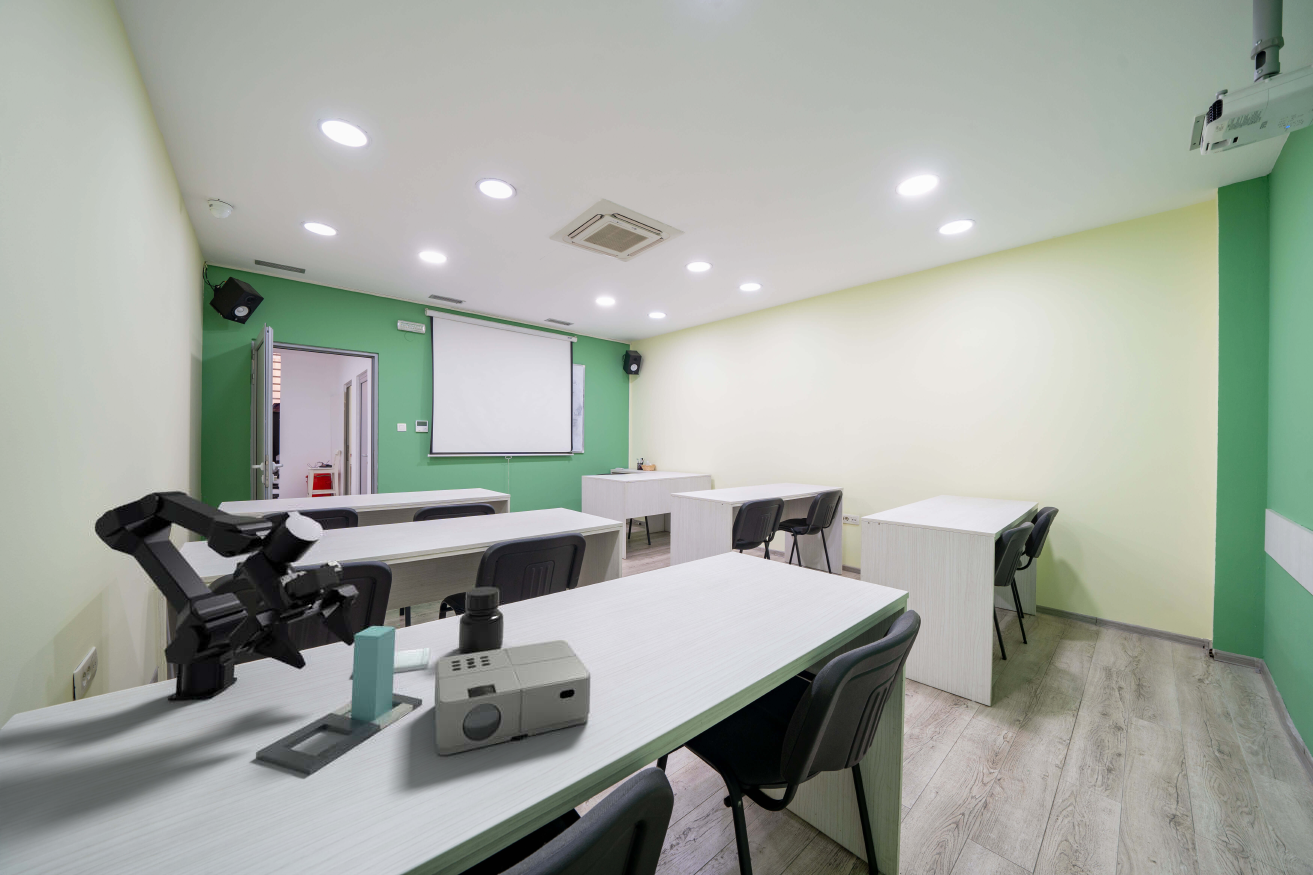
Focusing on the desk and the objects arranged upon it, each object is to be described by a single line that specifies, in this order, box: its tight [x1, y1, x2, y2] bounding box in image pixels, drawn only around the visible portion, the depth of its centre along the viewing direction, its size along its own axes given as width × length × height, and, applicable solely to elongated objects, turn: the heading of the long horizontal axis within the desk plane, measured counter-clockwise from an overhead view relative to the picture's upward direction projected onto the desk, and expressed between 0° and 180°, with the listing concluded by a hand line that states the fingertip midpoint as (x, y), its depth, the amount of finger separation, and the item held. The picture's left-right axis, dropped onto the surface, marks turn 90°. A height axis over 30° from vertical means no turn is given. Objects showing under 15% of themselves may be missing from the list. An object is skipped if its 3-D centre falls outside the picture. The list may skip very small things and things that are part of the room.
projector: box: [434, 639, 591, 756], centre depth 77 cm, size 17×22×8 cm
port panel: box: [255, 692, 423, 776], centre depth 71 cm, size 18×10×1 cm, turn 162°
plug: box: [350, 625, 396, 722], centre depth 75 cm, size 4×4×13 cm
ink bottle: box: [458, 586, 505, 655], centre depth 102 cm, size 10×9×12 cm
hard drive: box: [394, 647, 431, 674], centre depth 93 cm, size 2×8×12 cm
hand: (329, 654), depth 77 cm, fingers open, 9 cm apart
